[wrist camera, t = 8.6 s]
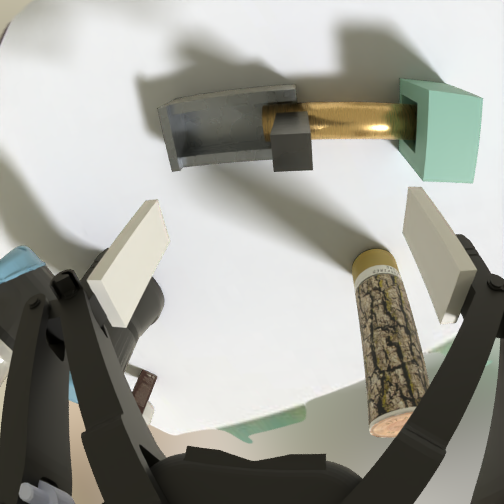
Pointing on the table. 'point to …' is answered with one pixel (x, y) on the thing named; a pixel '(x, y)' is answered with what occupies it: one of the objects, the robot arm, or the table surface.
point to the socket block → (442, 131)
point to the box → (143, 389)
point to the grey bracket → (220, 125)
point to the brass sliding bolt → (331, 127)
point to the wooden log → (387, 343)
